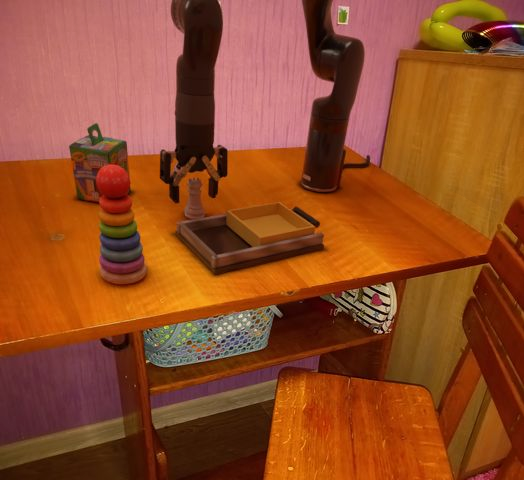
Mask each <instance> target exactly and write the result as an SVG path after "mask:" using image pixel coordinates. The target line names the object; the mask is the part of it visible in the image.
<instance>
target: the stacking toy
mask: <svg viewBox="0 0 524 480" xmlns="http://www.w3.org/2000/svg"><path fill="white" fill-rule="evenodd" d="M129 176H130V174H129V175H128V173H127V172H126V171H125V170H124V169H123V168H122V167H120V166H117V165H106V166H104V167H102V168H101V169H100V170H99V172H98V173H97V177H96V183H97V187H98V189H99V190H100V192H101V193H102V194H103V196H102V197H101V198H100V201H99V202H98V203H99V207H100V208H101V209H100V210H99V212H98V219H99V220H100V221H99V225H98V229H99V232H100V235H99V242H100V243H101V244H100V245H99V253H100V255H99V258H98V260H99V261H98V263H99V265H100V266H99V273H100V274H99V275H100V276H101V277H102V278H103V279H104V280H105V281H106V282H109V283H112V284H115V285H130V284H133V283H137V282H139V281H140V280H142V279H143V278H145V276H146V275H147V272H148V266H147V264H146V262H145V260H146V259H145V255H144V253H143V250H144V247H143V244H142V242H141V234H140V232H139V231H138V223H137V221H136V220H135V212H134V210H133V209H132V206H133V200H132V198H131V196H130V195H128V194H129V193H128V191H129V189H130V188H131V178H129ZM127 193H128V194H127ZM126 194H127V195H126Z"/></svg>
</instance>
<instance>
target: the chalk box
mask: <svg viewBox="0 0 524 480" xmlns="http://www.w3.org/2000/svg"><path fill="white" fill-rule="evenodd" d="M86 129H87V133H88V135H86V136H84V137H81V138H79V139H77V140H76V141H74V142H72V143H70V144H69V146H68V149H69V154H70V155H69V156H70V160H71V167H72V171H73V172H72V173H73V177H74V184H75V190H76V197H77V199H78V200H81V201H87V202H88V201H89V202H96V203H99V201H100V198H101V197H102V196H103V194H102V193H101V192H100V190H99V189H98V187H97V183H96V177H97V173H98V172H99V170H100V169H101V168H102V167H104V166H106V165H117V166H120V167H122V168H123V169H124V170H125V171H126V172H127V173H128V175H129V178H130V177H131V176H130V164H129V151H128V142H127V141H126V140H122V139H118V138H117V139H116V138H112V137H109V136H103V135H102V132H101V129H100V126H99V124H98V123H97V122H95V123H93V124H91V125H90V126H88V127H87V128H86ZM94 131H95V132H96V133H97V136H96V135H94V134H93V132H94ZM130 179H131V178H130ZM131 191H132V190H131V187H130V189H129V191H128V193H127V194H126V195H128V194H130V193H131Z"/></svg>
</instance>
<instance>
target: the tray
mask: <svg viewBox="0 0 524 480" xmlns="http://www.w3.org/2000/svg"><path fill="white" fill-rule="evenodd" d="M226 214H227V216H226V225H227V226H228V227H230V228H231V229H232V230H233V231H234V232H236V233H237V234H238V235H239V236H240V237H241V238H243V239H244V240H245V241H246V242H247V243H249V244H250V245H251V246H252V247H257V246H262V245H267V244H271V243H276V242H281V241H285V240H290V239H295V238H299V237H304V236H308V235H313V234H315V229H318V228H319V227H320V226H321V222H320V221H319V220H318V219H316V218H315V217H314V216H311V215H310V214H309V213H307V212H305V211H304V210H303V209H301V208H300V207H299V206H294V207H293V208H292V209H291V208H289V207H288V206H286V205H285V204H283V202H281V201H275V202H269V203H263V204H258V205H257V204H256V205H251V206H245V207H239V208H234V209H228V210H226Z"/></svg>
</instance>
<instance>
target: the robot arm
mask: <svg viewBox="0 0 524 480" xmlns="http://www.w3.org/2000/svg"><path fill="white" fill-rule="evenodd" d="M333 3H334V0H301V6H302V11H303V16H304V22H305V29H306V39H307V47H308V55H309V63H310V66H311V70H312V72H313V74H314V75H315V77H316V78H318V79H320V80H322V81H326V82H329V83H333V85H332V89H331V93H330V94H329V95H325V96H320V97H317V98H315V99H314V100H312V104H311V110H310V118H309V125H308V131H307V137H306V145H305V151H304V160H303V167H302V172H301V173H302V174H301V179H300V185H301V187H302V188H304V189H306V190H308V191H312V192H316V193H333V192H335V191H336V190H337V189H339V188H340V187H341V186H340V185H341V182H342V176H343V169H344V168H347V167H349V168H351V167H352V168H362V167H367V166H368V165H369V164H370V162H371V156H370V155H369V154H367V155H366V157H365V158H366V161H365V162H361V163H360V162H359V163H354V162H353V163H352V162H350V163H349V162H346V163H345V160H346V154H347V150H346V148H345V143H346V139H347V133H348V127H349V122H350V117H351V112H352V110H353V107H354V104H355V102H356V98H357V94H358V89H359V85H360V81H361V77H362V73H363V69H364V63H365V56H366V50H365V45H364V43H363V41H362V40H361V39H360V38H357V37H352V36H348V35H343V34H339V33H336V31H335V29H334V25H333V19H332V5H333ZM170 17H171V21H172V23H173V25H174V27H175V28H176V29H177V30H178V31H179V32H180V33H182V34H183V46H182V53H181V54H179V56H178V57H177V59H176V64H175V76H176V77H175V87H176V88H175V89H176V90H175V98H174V99H175V101H174V123H175V125H174V128H175V129H174V131H175V133H174V134H175V148H174V150H171V151H170V150H166V149H163V148H162V149H160V151H159V179H160V180H161V181H162V182H163V183H164V184H166V185H168V187H169V188H168V193H169V194H168V196H169V199H170V200H172V202H173V203H174V204H180V185H179V184H180V183H181V181H182V180H183V179H184V178H185V177H186V176H187V174H188V173H189V174H192V173H195V172H200V173H201V172H202V173H203V172H204V171H205V172H206V173H207V174H208V176H209V178H208V183H207V184H208V190H207V195H208V197H209V198H211V199H216V198H217V195H219V181H220V179H221V178H227V177H228V175H229V173H228V171H229V168H228V167H229V165H228V156H229V155H228V154H229V153H228V152H229V151H228V148H226V147H225V146H224V145H221V144H218V145H217V146H215V147H214V143H215V127H216V126H215V125H216V123H215V122H216V98H215V85H216V64H217V61H218V57H219V52H220V48H221V42H222V38H223V33H224V16H223V10H222V7H221V4H220V1H219V0H171V2H170ZM214 157H215V158H216V167H215V166H214V165H213V163H212V160H213V158H214ZM174 159H175V160H176V163H175V164H174V165H173V167H172V163H174ZM171 170H172V171H171Z"/></svg>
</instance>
